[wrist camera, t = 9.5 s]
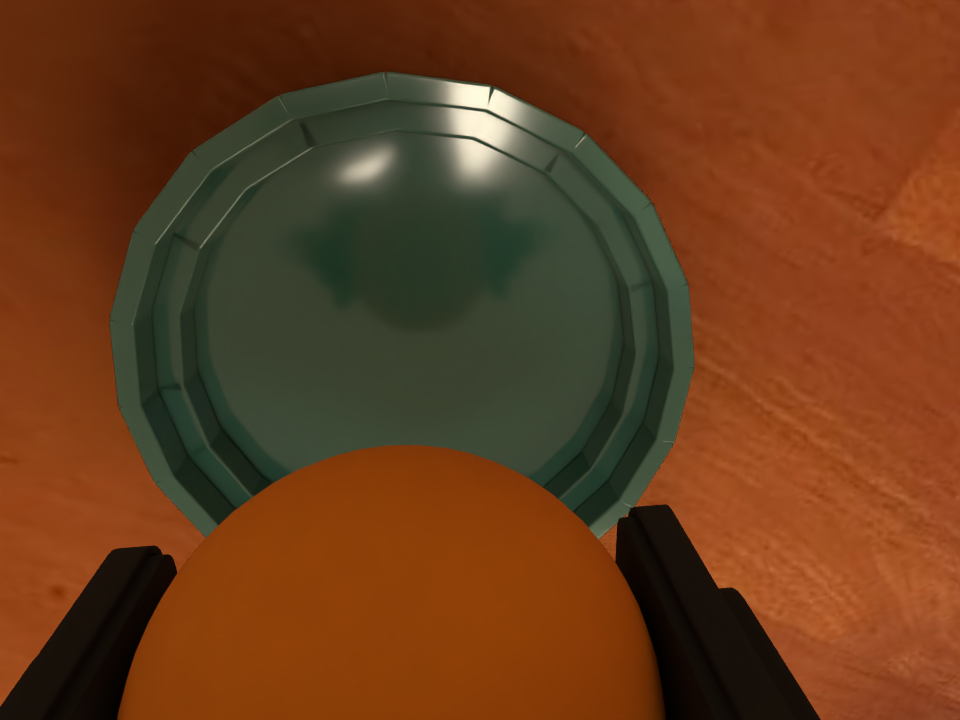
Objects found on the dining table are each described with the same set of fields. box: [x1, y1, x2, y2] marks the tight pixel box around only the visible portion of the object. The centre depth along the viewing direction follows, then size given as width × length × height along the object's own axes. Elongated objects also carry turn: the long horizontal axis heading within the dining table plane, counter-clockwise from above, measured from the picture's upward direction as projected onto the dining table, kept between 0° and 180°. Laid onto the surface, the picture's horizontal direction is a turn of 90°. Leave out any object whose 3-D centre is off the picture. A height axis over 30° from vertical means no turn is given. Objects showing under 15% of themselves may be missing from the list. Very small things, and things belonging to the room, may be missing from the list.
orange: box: [117, 445, 666, 720], centre depth 8 cm, size 7×7×7 cm
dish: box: [109, 71, 695, 539], centre depth 18 cm, size 15×15×3 cm
